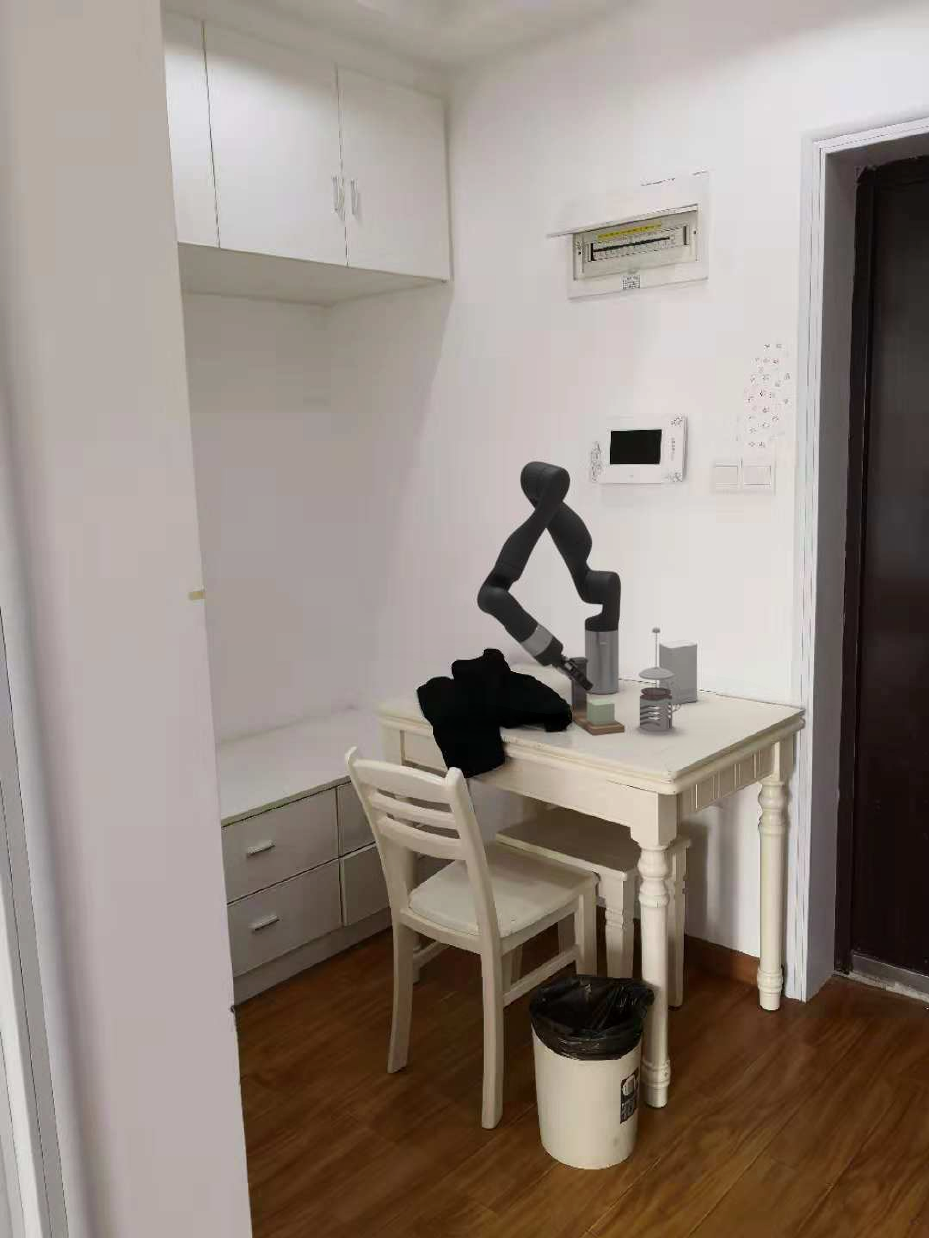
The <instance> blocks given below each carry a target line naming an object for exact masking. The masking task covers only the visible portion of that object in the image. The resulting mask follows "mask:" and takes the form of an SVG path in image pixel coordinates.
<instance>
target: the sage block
mask: <svg viewBox="0 0 929 1238" xmlns="http://www.w3.org/2000/svg"><path fill="white" fill-rule="evenodd" d="M615 709H616V708H615V703H614V702H613V701H611V700H610V699H608V698H599V699H587V721H589V722H590V723H592V724H593V725H595V726H597V725H607V724H615V720H616V718H615V713H616V712H615Z"/></svg>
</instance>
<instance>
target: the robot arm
mask: <svg viewBox="0 0 929 1238" xmlns="http://www.w3.org/2000/svg"><path fill="white" fill-rule="evenodd" d="M519 481H520V482H519V483H520V487H521V490H522V492H523V495H525V497H526V499H527V501H529V503H530V504H531V505H532V507H533V509H534V511H533V512H532V513H531V515H530V516H529V517H528V518H527V519H526V520H525V521H524V522H523V523H522V524H521V525H520V526H519V527H517V528H516V529H515V530H514V531H513V532H512V533H511V534H510V535H509V537H508V538H507V539H506V540H505V541H504V544H503V545H502V548H501V550H500V552H499V554H498V557H497V559H496V561H495V564H494V567H493V568H491V571H490V572H489V574H488V575H487V576H486V578H485V580H483V583H482V584H481V586H480V588H479V590H478V593H477V596H476V597H477V598H476V602H477V607H478V608H479V610H481V611H482V613H485V614H488V615H489V616H490V615H491V616H492V617H494V619H496V620H497V621H498V622H499V623H500V624H501V626H503V627H504V629H505V631H506V632H507V633H508V635H510V636H511V638H513V639H514V640H515V641H516V642H517V643H518V644H519V646H521V648H522V649H523V650H525V652H526V653H527V654H529V656H530V657H532V658H533V659H534V660H535V661H536V662H537V663H538V664H539V665H540V666H541V667H545V668H546V667H548V666H549V667H550V665H551V667H552V668H553V669H555V670H556V671H557V672H558V673H559V674H561V675H565V677H566V678H568V679H569V680H570V681H571V678H572V679H574V680H575V682H577V683H579V684H580V685H581V686H582V687H583V688H584V689H585V690H586V691H587V693H591V694H597V695H598V694H599V695H600V694H602V695H605V694H606V695H607V694H614V693H616V692H618V691H619V689H620V688H619V687H620V682H619V681H620V665H619V664H620V656H619V655H620V653H619V646H620V643H619V642H620V639H619V632H620V631H619V628H620V627H619V623H620V617H621V597H622V596H621V595H622V582H621V578H620V575H619V574H618V572H615V571H611V570H609V571H608V570H593V569H592V568H590V566H589V565H588V563H587V561H588V559H589V557H590V554H591V552H592V547H593V538H592V536H591V534H590V531H589V529H588V528H587V525H586V523H585V522H584V520H583V519H582V518H581V517H580V515H578V514H577V513H576V512H575V511H574V510H573V509H572V508H571V507H570V506H569V505H568V504H567V503H565V501H564V500H565V498H566V497H567V494H568V492H569V489H570V485H571V477H570V473H569V471H568V470H567V469H566V468H565V467H562V466H559V465H554V464H551V463H547V462H543V461H535V460H534V461H530V462H528V463H527V464H525V465H524V466H523V468H522V469H521V473H520V478H519ZM545 530H547V531H548V533H549V535H550V537H551V539H552V542H553V543H554V546H555V547H556V549H557V551H558V553H559V554H560V556H561V558H562V560H563V562H564V563H565V565H566V567H567V570H568V572H569V573H570V576H571V579H572V582H573V585H574V587H575V589H576V592H577V594H578V596H579V599H581V601H582V602H584V603H586V604H589V605H600V606H602V607H601V611H600V613H598V614H596V615H591V616H590V617H589V616H588V617H587V618H585V620H584V658H586V659H588V663H587V679H586V678H585V677H584V676H585V675H584V673H582V672H581V671H580V670H579V669H578V668H577V666H576V665H574V664H573V663H572V662H571V661H570V659H569V658H570V657H567V656H566V655H564V654H563V651H564V644H563V643H562V642H561V641H560V639H558V638H557V637H556V636H555V635H553V633H551V631H550V630H548V629H547V628H546V627H545V626H544V625H542V624H541V623H540V622H539V621H537V620H536V618H534V617H533V616H532V615H531V614H530V613H529V612H528V611H526V610H525V609H524V608H523V606H522V605H521V604H520V602H519V601H518V600H517V599H516V598H515V597H514V595H513V594H512V593H510V592H509V591H510V589H511V587H512V585H513V584H514V583H516V582H517V581H519V580H520V579H521V577H522V575H523V572H524V571H525V568H526V566H527V564H528V561H529V558H530V556H531V555H532V552H533V550H534V548H535V546H536V544H537V543H538V541H539V539H540V538H541V537H542V535H543V533H544V531H545ZM576 672H577V673H579V675H578V676H577V677H575V676H574V674H575V673H576Z"/></svg>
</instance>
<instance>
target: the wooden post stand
mask: <svg viewBox="0 0 929 1238" xmlns="http://www.w3.org/2000/svg"><path fill="white" fill-rule="evenodd" d="M568 658H569V660H570V661H571V662H572V663H573V664H574V665H576V666H577V668H578V669H579V670H580V671H581V672H582V673H584V675H585V676H584V677H585V678H586V679H587V663H588V659H586V658H585V656H575V657H568ZM578 675H579V673H577V672H576V673H575V674H574V676H575V677H577V676H578ZM570 682H571V685H570V686H571V688H570V689H571V690H570V691H571V695H570V696H571V705H569V706H570V710H571V712H572V720H571V721H572V722H574V723H575V724H576V725H578V726H579V727H581V728H582V729H584V730H585V731H586V732H587V733H589V734H591V735H592V736H598V735H599V736H600V735H607V734H618V733H625V731H626V730H625V729H626V727H625V725H624V724H623V723H622V722H620V721H618V720H617V719H615V724H607V725H597V726H595V725H593V724H592V723H590V722H589V721H587V700H588V692H587V691H586V690H585V689H584V688H583V687H582V686H581V685H580V684H579V683H577V682H575V680H574V679H572V678H571V680H570Z"/></svg>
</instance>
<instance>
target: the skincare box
mask: <svg viewBox="0 0 929 1238" xmlns="http://www.w3.org/2000/svg"><path fill="white" fill-rule="evenodd" d="M658 667H659V668H664V669H667V670H669V671H670V672H672V673H673V677H672V678H670V679H665V680H658V681H659V682H658V683H659V685H658V687H660V688H667V689H669V688H668V686H667V684H668V683H670V684H671V683H672V682H675V683H676V684H677V685H678V686H679V687H680V689H681V692H682V704H687V703H693V702H697V701H698V644H697V643H695V642H692V641H688V640H685V639H683V640H676V641H669V642H661V643H658ZM670 684H669V687H671V685H670ZM676 684H674V683H673V684H672V685H673V686H674V688H675V689H676V691H677V693H678V705H680V704H681V693H680V690H679V688H678V687H677V685H676ZM674 688H673V687H671V688H670V690H671V693H670V694H669V695H671V696H672V697H673V703H672V706H673V705H677V693H676V691H675V689H674ZM666 700H669V702H670V703H671V700H670V699H663V700H660V701H666ZM682 704H681V705H682Z"/></svg>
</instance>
